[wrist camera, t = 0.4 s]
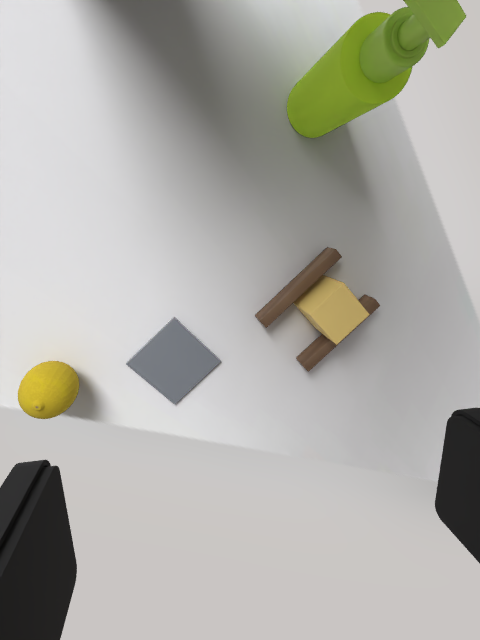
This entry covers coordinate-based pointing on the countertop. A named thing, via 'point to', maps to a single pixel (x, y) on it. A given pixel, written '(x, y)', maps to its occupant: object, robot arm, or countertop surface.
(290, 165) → the countertop surface
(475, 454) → the robot arm
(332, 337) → the ochre block
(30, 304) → the countertop surface
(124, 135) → the countertop surface
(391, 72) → the soap dispenser
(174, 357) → the slate coaster
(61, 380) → the lemon
